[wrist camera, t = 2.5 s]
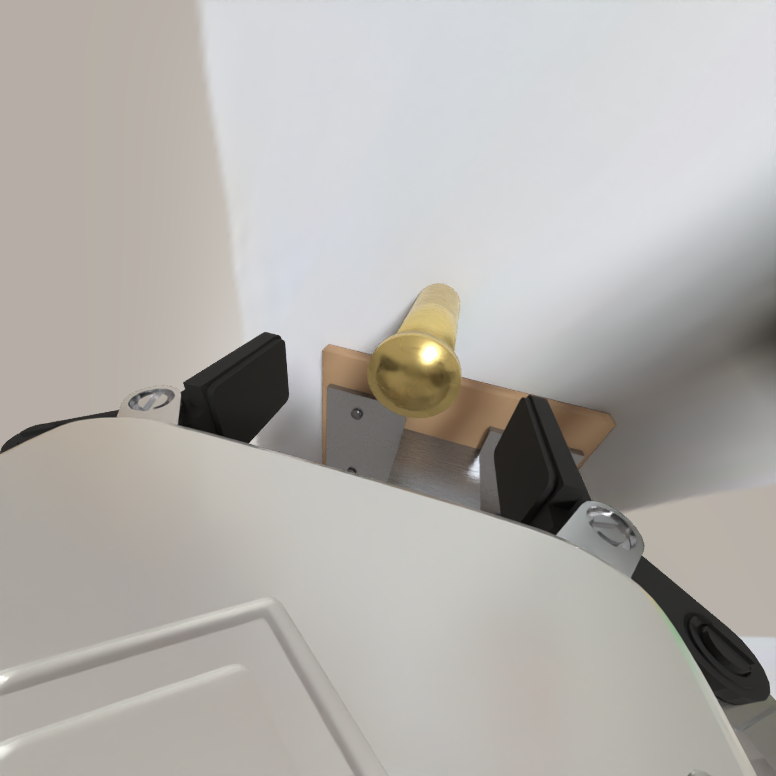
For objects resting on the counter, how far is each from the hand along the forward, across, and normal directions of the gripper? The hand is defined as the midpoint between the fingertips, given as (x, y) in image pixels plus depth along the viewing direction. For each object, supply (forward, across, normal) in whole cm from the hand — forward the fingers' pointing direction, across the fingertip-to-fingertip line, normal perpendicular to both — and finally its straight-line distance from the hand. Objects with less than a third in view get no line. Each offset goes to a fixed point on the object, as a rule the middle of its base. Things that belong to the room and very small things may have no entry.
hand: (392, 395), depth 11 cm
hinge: (+10, -4, +13) cm, 17 cm away
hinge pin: (+11, -1, -1) cm, 11 cm away
